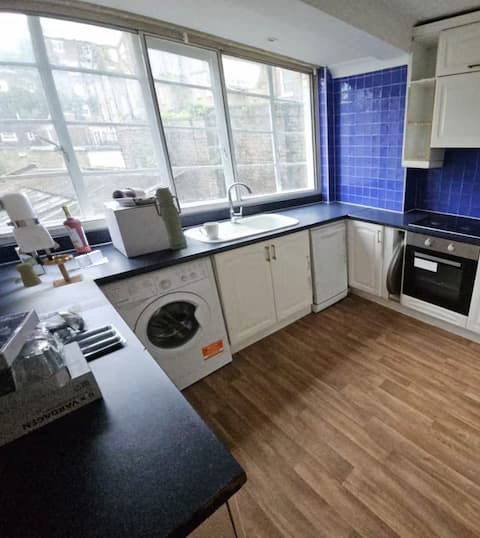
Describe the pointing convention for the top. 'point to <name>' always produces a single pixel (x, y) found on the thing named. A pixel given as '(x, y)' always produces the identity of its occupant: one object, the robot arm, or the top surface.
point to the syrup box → (28, 259)
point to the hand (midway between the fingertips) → (46, 263)
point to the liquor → (75, 232)
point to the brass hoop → (58, 259)
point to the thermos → (170, 218)
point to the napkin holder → (91, 259)
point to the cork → (28, 274)
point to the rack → (66, 277)
